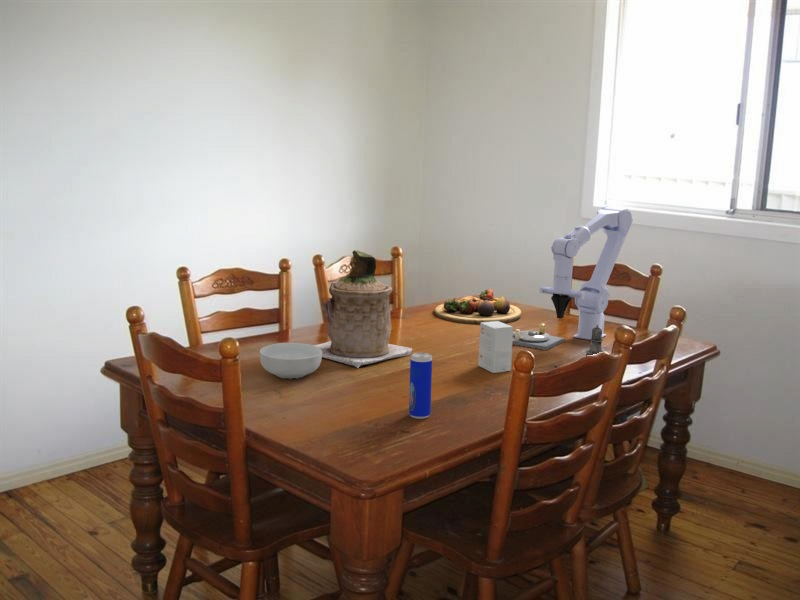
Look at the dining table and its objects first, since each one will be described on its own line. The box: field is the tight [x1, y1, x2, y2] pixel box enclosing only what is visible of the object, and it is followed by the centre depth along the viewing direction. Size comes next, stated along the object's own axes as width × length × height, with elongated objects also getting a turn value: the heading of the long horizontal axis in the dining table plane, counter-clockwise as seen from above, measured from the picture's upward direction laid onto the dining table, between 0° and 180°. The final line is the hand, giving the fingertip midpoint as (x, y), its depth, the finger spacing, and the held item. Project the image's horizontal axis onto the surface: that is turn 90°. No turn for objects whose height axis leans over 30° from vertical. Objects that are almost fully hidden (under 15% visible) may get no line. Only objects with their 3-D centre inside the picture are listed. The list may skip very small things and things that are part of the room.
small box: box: [477, 321, 514, 374], centre depth 242 cm, size 8×6×13 cm
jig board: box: [512, 328, 565, 351], centre depth 274 cm, size 14×16×5 cm
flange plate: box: [513, 323, 551, 342], centre depth 274 cm, size 11×13×4 cm
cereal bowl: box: [259, 342, 323, 380], centre depth 232 cm, size 17×17×7 cm
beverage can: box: [408, 352, 433, 420], centre depth 201 cm, size 5×5×15 cm
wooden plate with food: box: [434, 288, 523, 325], centre depth 311 cm, size 32×32×8 cm
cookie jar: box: [312, 249, 413, 369], centre depth 252 cm, size 25×25×32 cm
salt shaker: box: [584, 325, 604, 357], centre depth 249 cm, size 6×6×12 cm
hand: (560, 317), depth 271 cm, fingers closed
